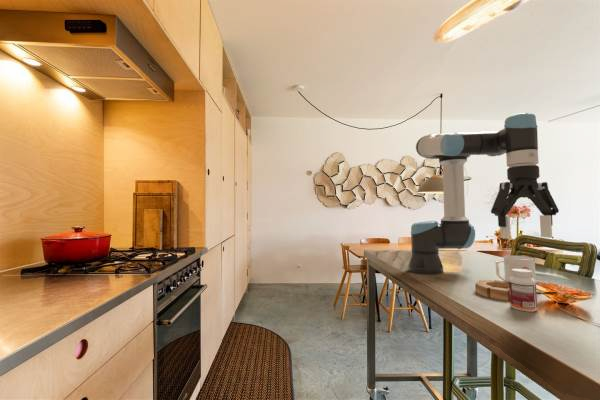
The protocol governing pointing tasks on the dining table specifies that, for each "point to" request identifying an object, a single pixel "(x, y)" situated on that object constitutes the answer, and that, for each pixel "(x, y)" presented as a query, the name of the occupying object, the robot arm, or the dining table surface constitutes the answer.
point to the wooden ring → (493, 289)
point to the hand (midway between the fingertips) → (526, 237)
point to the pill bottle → (523, 290)
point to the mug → (516, 265)
